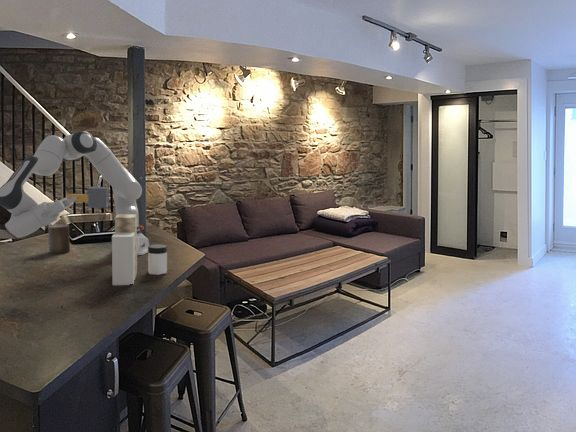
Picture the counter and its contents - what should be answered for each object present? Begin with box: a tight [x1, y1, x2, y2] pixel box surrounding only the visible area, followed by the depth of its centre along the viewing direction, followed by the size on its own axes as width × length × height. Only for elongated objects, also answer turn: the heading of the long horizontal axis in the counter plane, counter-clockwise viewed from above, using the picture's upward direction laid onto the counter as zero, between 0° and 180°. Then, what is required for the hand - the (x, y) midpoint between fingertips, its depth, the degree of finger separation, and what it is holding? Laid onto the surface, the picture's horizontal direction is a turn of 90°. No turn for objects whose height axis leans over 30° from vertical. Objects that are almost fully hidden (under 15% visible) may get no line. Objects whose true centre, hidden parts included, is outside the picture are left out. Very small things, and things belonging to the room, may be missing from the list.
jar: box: [147, 244, 168, 276], centre depth 214 cm, size 9×8×12 cm
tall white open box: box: [111, 232, 136, 286], centre depth 197 cm, size 8×9×20 cm
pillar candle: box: [47, 223, 71, 255], centre depth 245 cm, size 10×10×15 cm
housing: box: [66, 186, 110, 209], centre depth 200 cm, size 16×7×8 cm, turn 103°
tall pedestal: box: [114, 214, 138, 278], centre depth 207 cm, size 8×9×26 cm
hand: (77, 196), depth 199 cm, fingers closed on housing, 3 cm apart
